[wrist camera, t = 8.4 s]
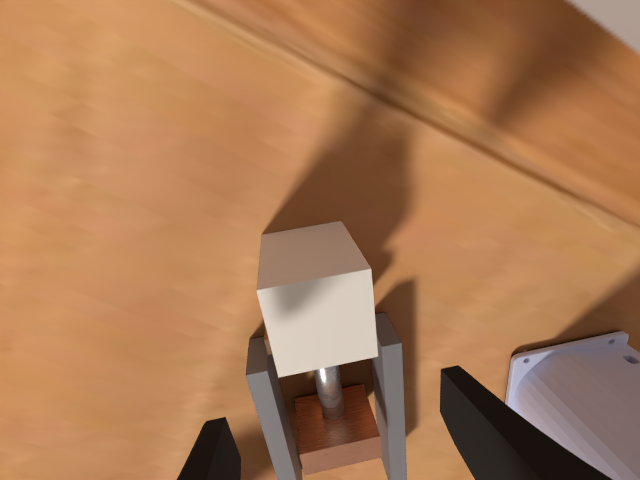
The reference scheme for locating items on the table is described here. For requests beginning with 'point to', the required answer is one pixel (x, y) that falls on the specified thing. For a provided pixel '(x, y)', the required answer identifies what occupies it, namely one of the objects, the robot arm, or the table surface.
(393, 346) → the track
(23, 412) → the table surface
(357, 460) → the ram
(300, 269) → the block
